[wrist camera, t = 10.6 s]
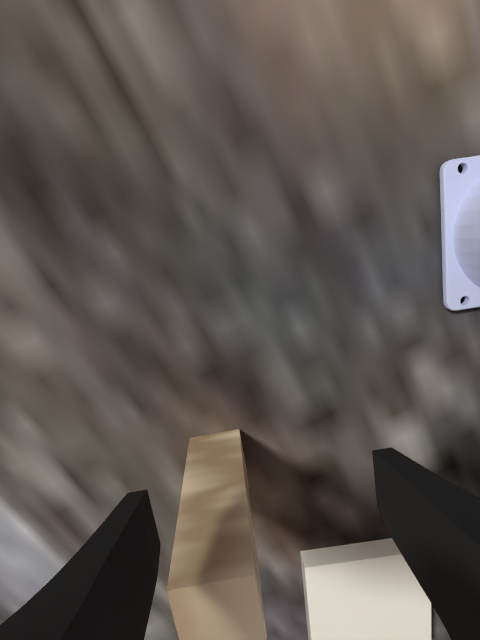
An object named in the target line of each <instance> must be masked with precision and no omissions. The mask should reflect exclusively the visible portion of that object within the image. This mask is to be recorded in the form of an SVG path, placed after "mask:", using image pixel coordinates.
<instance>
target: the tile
mask: <svg viewBox="0 0 480 640" xmlns="http://www.w3.org/2000/svg"><path fill="white" fill-rule="evenodd" d="M300 554H301V564H302V575H303V585H304V596H305V607H306V617H307V628H308V638H309V640H431V602H430V600H429V599H428V597H427V596H426V594H425V592H424V591H423V589H422V587H421V586H420V584H419V582H418V581H417V579H416V577H415V576H414V574H413V573H412V571H411V569H410V568H409V566H408V564H407V563H406V561H405V559H404V558H403V556H402V554H401V553H400V551H399V549H398V548H397V546H396V544H395V543H394V541H393V539H392V538H389V539H382V540H375V541H368V542H361V543H354V544H347V545H340V546H333V547H326V548H319V549H312V550H305V551H300Z"/></svg>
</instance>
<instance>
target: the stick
mask: <svg viewBox="0 0 480 640" xmlns="http://www.w3.org/2000/svg"><path fill="white" fill-rule="evenodd" d="M167 594H168V598H169V602H170V606H171V609H172V613H173V617H174V621H175V625H176V629H177V633H178V637H179V640H267V635H266V626H265V618H264V610H263V601H262V593H261V585H260V576H259V568H258V559H257V551H256V543H255V534H254V526H253V517H252V509H251V501H250V492H249V484H248V476H247V469H246V464H245V458H244V453H243V447H242V442H241V436H240V431H239V429H236V430H231V431H225V432H220V433H214V434H208V435H203V436H197V437H192V438H190V439H189V446H188V452H187V459H186V466H185V472H184V479H183V486H182V492H181V499H180V506H179V513H178V519H177V526H176V533H175V539H174V546H173V553H172V559H171V566H170V573H169V579H168V586H167Z"/></svg>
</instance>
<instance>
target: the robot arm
mask: <svg viewBox="0 0 480 640" xmlns="http://www.w3.org/2000/svg"><path fill="white" fill-rule="evenodd" d="M459 164H460V165H461V166H462V168H463V170H462V172H461V173H459V172H458V166H459ZM440 197H441V231H442V265H443V300H444V306H445V307H446V308H447V309H449V310H453V311H456V310H463V309H469V308H476V307H480V155H479V156H473V157H466V158H459V159H452V160H449V161H447V162H445V163H444V164H442V166H441V168H440ZM463 296H464V297H465V301H464V302H463V303H462V304H461V303H460V300H461V298H462V297H463ZM372 454H373V465H374V476H375V486H376V497H377V507H378V509H379V511H380V513H381V516H382V518H383V520H384V522H385V525H386V527H387V529H388V531H389V533H390V535H391V537H392V539H393V541H394V543H395V544H396V546H397V548H398V549H399V551H400V553H401V554H402V556H403V558H404V559H405V561H406V563H407V564H408V566H409V568H410V569H411V571H412V573H413V574H414V576H415V577H416V579H417V581H418V582H419V584H420V586H421V587H422V589H423V591H424V592H425V594H426V596H427V597H428V599H429V600H430V602H431V604H432V605H433V607H434V609H435V610H436V612H437V614H438V615H439V617H440V619H441V621H442V623H443V624H444V626H445V628H446V630H447V632H448V634H449V636H450V638H451V640H480V498H478V497H476V496H475V495H473V494H471V493H469V492H467V491H465V490H463V489H461V488H459V487H457V486H456V485H454V484H452V483H450V482H448V481H447V480H445V479H443V478H441V477H440V476H438V475H436V474H434V473H433V472H431V471H429V470H428V469H426V468H424V467H423V466H421V465H420V464H418V463H416V462H415V461H413V460H411V459H410V458H408V457H406V456H405V455H403V454H402V453H400V452H398V451H396V450H395V449H393V448H386V449H380V450H374V451H372ZM159 555H160V540H159V536H158V532H157V528H156V524H155V520H154V516H153V512H152V508H151V504H150V499H149V495H148V491H147V490H142V491H136V492H130V493H127V495H126V496H125V497H124V498H123V499H122V500H121V501H120V503H119V504H118V505H117V506H116V507H115V509H114V510H113V511H112V512H111V514H110V515H109V516H108V517H107V518H106V520H105V521H104V522H103V523H102V524H101V525H100V527H99V528H98V529H97V530H96V531H95V533H94V534H93V535H92V536H91V537H90V538H89V540H88V541H87V542H86V543H85V544H84V545H83V546H82V547H81V548H80V550H79V551H78V552H77V553H76V554H75V555H74V556H73V557H72V558H71V559H70V560H69V561H68V563H67V564H66V565H65V566H64V567H63V568H62V569H61V570H60V571H59V572H58V573H57V574H56V575H55V576H54V577H53V578H52V579H51V580H50V581H49V582H48V583H47V584H46V585H45V586H44V587H43V588H42V589H41V590H40V591H39V592H38V593H37V594H35V595H34V596H33V597H32V598H31V599H30V600H29V601H28V602H27V603H26V604H25V605H23V606H22V607H21V608H20V609H19V610H18V611H17V612H15V613H14V614H13V615H12V616H11V617H9V618H8V619H7V620H6V621H5V622H3V623H2V624H1V625H0V640H144V637H145V632H146V628H147V623H148V619H149V614H150V610H151V605H152V600H153V596H154V591H155V586H156V581H157V574H158V566H159Z"/></svg>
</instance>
